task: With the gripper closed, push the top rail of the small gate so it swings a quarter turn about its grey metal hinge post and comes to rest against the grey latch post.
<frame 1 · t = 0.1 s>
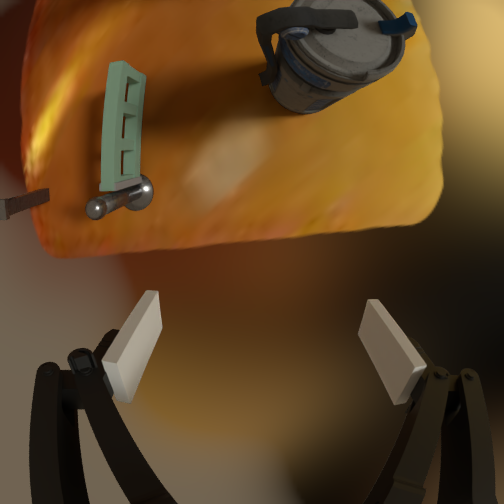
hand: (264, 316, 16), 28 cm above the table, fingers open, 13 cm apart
beverage bottle: (295, 85, 36), on the table
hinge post: (136, 191, 41), on the table
latch post: (45, 194, 40), on the table
gate: (123, 126, 32), point 5 cm above the table, hinge at 0.0°
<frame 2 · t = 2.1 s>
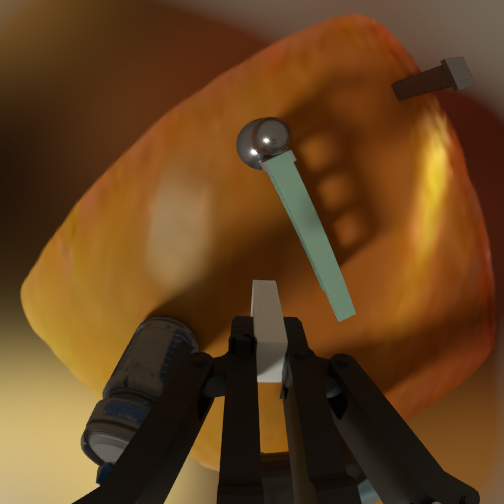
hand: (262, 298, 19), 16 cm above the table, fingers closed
beverage bottle: (172, 336, 40), on the table
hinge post: (262, 144, 31), on the table
latch post: (401, 90, 28), on the table
gate: (308, 232, 28), point 6 cm above the table, hinge at 0.0°
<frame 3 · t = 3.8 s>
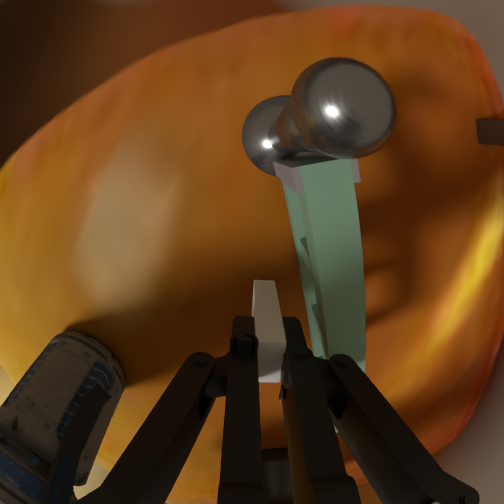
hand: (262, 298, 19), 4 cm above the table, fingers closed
beverage bottle: (95, 358, 26), on the table
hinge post: (284, 136, 18), on the table
latch post: (484, 132, 17), on the table
gate: (326, 300, 17), point 6 cm above the table, hinge at 3.1°, touching gripper
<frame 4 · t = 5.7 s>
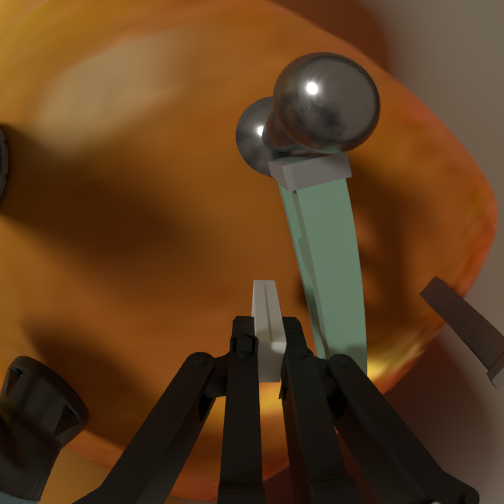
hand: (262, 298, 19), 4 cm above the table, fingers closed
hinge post: (278, 136, 19), on the table
latch post: (432, 291, 23), on the table
gate: (326, 298, 17), point 6 cm above the table, hinge at 54.4°, touching gripper
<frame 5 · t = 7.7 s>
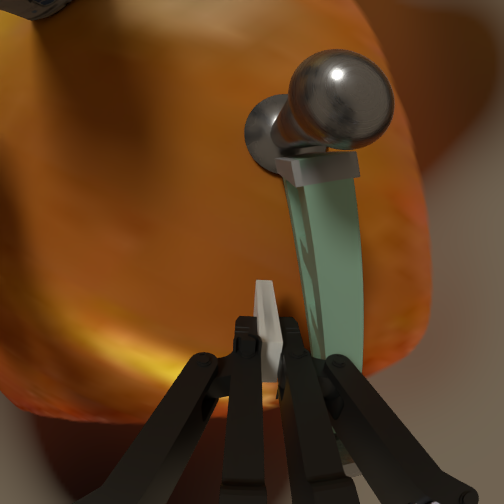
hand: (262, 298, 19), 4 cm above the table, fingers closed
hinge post: (286, 134, 18), on the table
latch post: (315, 361, 25), on the table
gate: (325, 298, 17), point 6 cm above the table, hinge at 91.4°, touching gripper
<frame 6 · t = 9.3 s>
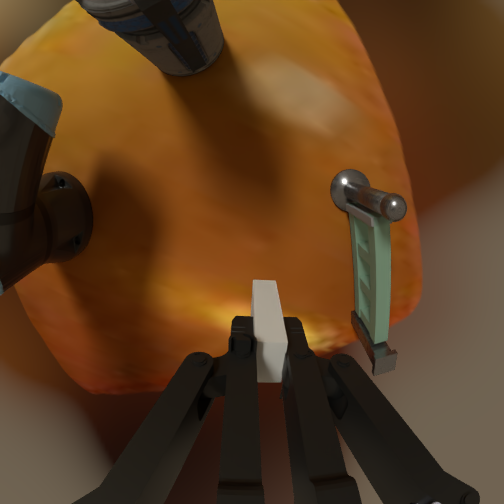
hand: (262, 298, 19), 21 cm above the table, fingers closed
beverage bottle: (191, 52, 30), on the table
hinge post: (350, 190, 36), on the table
latch post: (357, 315, 43), on the table
gate: (370, 272, 34), point 5 cm above the table, hinge at 90.6°
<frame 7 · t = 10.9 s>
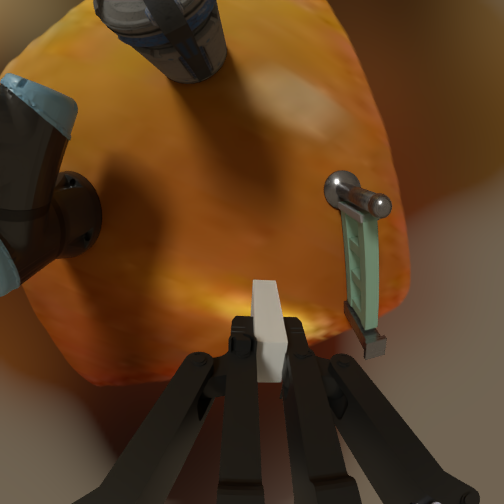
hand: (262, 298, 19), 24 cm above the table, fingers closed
beverage bottle: (196, 61, 33), on the table
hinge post: (342, 189, 40), on the table
latch post: (350, 305, 47), on the table
gate: (360, 264, 38), point 5 cm above the table, hinge at 90.6°
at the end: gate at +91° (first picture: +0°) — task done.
